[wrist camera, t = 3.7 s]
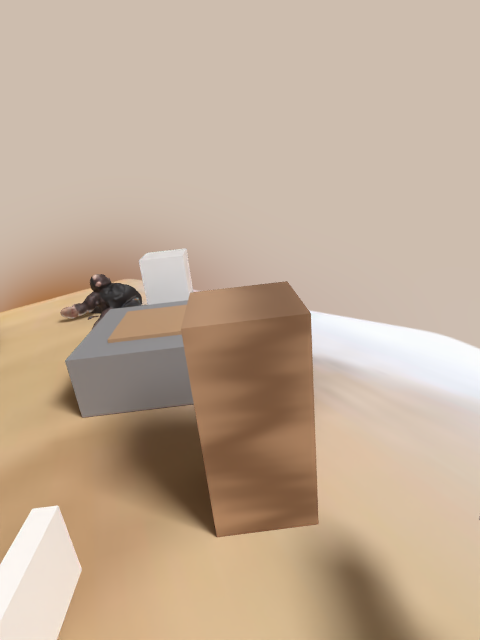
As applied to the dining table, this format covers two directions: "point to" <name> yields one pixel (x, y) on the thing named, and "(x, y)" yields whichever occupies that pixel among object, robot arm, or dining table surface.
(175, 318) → the base block
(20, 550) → the robot arm
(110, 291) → the stuffed animal
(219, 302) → the walnut block
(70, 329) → the dining table surface
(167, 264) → the white block
